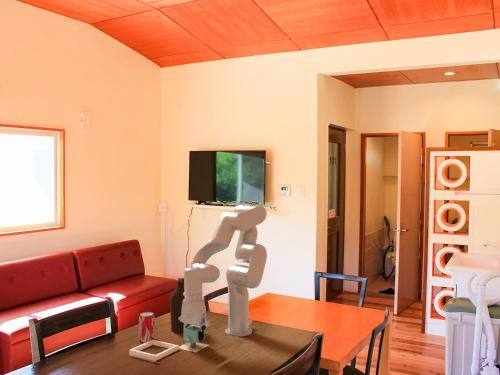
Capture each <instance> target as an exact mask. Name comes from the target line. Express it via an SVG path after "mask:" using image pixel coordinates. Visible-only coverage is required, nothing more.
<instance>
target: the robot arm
mask: <svg viewBox="0 0 500 375" xmlns="http://www.w3.org/2000/svg"><path fill="white" fill-rule="evenodd" d="M233 210H234V211H230V210H229V211H225V212H223V213H222V214H221V217H220V218H219V220H218V223H217V225H216V228H215V229H214V232H213V233H212V236H211V238H210V240H208V241H207V242H206V243H205V244H204V245H203V246H201V248H199V249H198V251H196V254H195V255H194V256H193V259H192V262H191V264H190V266H189V267H188V266H187V267H185V268H184V270H183V278H184V293H183V296H185V299H183V303H182V311H181V316H180V317H179V320H180V322H181V324H182V325H183V328H186V327H189V326H190V325H196V326H198V328H199V332H198V334H199V342H201V341H203V340H205V339H204V330H205V331H206V329H207V328H208V327H209V326H210V324H211V321H210V320H209V319H208V318H207V315H206V314H207V312H206V305H205V300H204V299H203V298H204V297H203V284H206V283H208V284H209V283H215V282H216V281H217V280H218V279H219V278H220V275H221V271H220V268H219V267H218V266H216V265H214V264H208V263H207V262H208V261H209V260H210V259H211V257H212V256H214V255H216V254H217V253H221V252H223V251H224V250H227V249H228V248H229V247H230V244H231V241H232V239H233V236H234V234H235V232H236V231H237V232H239V235H238V239H237V243H236V247H235V250H234V258H235V260H236V261H238V262H240V263H245V264H248V265H244V264H238V263H237V264H232V265H230V266H229V267H228V268H227V270H226V273H225V274H226V275H225V276H226V283H227V292H228V293H227V295H228V299H227V300H228V302H227V304H228V305H227V306H228V307H227V308H228V313H227V314H228V316H227V317H228V319H227V320H228V323H227V324H228V325H227V326H228V327H227V328H225V330H224V333H225V335H228V336H232V337H237V338H238V337H239V338H240V337H242V338H244V337H247V336H250V335H252V334H253V329H252V328H251V327H250V325H252V324H253V320H252V319H249V318H250V317H249V316H250V314H249V312H250V310H249V309H250V308H249V306H250V304H249V302H250V297H249V296H250V294H249V290H248V289H257V287H259V286H260V285H261V282H262V279H263V276H264V271H265V268H266V263H267V258H268V254H267V253H268V252H267V248H266V247H265V246H264V245H263V244H261V243H257V240H258V228H257V226H258V225H260V224H263V222H265V220H266V219H267V216H268V215H267V213H268V212H267V209H266V208H265V207H264V206H263V205H261V204H249V203H241V204H238V205H236V206H235V207H234V209H233ZM201 326H202V327H201Z"/></svg>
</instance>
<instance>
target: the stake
mask: <svg viewBox="0 0 500 375" xmlns="http://www.w3.org/2000/svg"><path fill="white" fill-rule="evenodd" d="M209 346H210V344H206V343H202V342H197V343H193V342H191V343H186V342H185V343H184V344H182V345H180V346H179V350H185V351H187V352H193V353H197V352H199V351H201V350H203V349H204V348H207V347H209Z"/></svg>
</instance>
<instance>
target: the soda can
mask: <svg viewBox="0 0 500 375" xmlns="http://www.w3.org/2000/svg"><path fill="white" fill-rule="evenodd" d="M139 315H140V316H139V318H138V340H139V341H140V342H141V344H144V343H146V342H148V341H151V340H156V317H155V315H154V312H152V311H151V312H150V311H146V312H142V313H140V314H139Z"/></svg>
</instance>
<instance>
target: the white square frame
mask: <svg viewBox="0 0 500 375" xmlns="http://www.w3.org/2000/svg"><path fill="white" fill-rule="evenodd" d="M151 346H157V347H161V348H165V350H163V351H162V352H161V351H160V352H159V353H156V354H153V353H149V352H147V351H146V352H145V351H142V350H144V349H146V348H149V347H151ZM178 350H180V349H179V345H178V344H175V343H174V344H173V343H169V342H165V341H160V340H156V339H154V340H151V341H148V342H146V343H141V344H140V345H137V346H135V347H132V348H130V349H129V352H128V354H129V357H131V358H132V357H133V358H136V359H140V360H145V361H148V362H152V363H158V362H159V360H160V359H163V358H164V357H166V356H168V355H171V354H173V353H174V352H177V351H178Z"/></svg>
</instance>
